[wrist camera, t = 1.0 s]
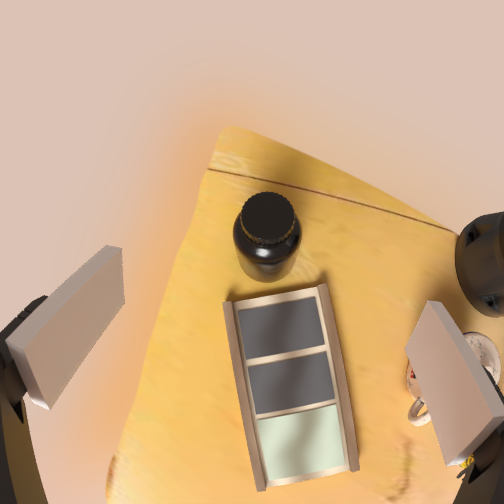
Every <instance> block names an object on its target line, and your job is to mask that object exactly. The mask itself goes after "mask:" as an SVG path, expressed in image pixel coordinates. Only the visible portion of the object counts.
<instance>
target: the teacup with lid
mask: <svg viewBox="0 0 504 504" xmlns="http://www.w3.org/2000/svg"><path fill="white" fill-rule="evenodd" d="M463 336H464V337H465V339H466V340H467V342H468V344H469V345H470V347H471V348H472V350H473V352H474V353H475V355H476V357H477V358H478V360H479V362H480V363H481V365H483V366H484V367H485V368H486V369H487V370H488V371H489V372H490V373H491V375H492V376H493V378H494V380H495V382H496V384H497V385H498V382H499V378H500V371H501V364H500V357H499V353H498V350H497V348H496V346H495V345H494V343H493V342H492V341H491V340H490V339H489V338H488V337H487V336H485V335H483V334H481V333H478V332H467V333H464V334H463ZM406 380H407V386H408V390H409V392H410V394H411V396H412V397H413V398H414V399H415V400H416V401H415V402H414V403H413V405H412V406H411V408H410V410H409V413H408V419H409V421H410V422H411V423H412V424H413V425H415V426H421V425H424V424H426V423H427V422H429V421H430V420H431V417H430V414H429V411H428V410H427V411H426V412H424V413H423V414H422V415H420V416H418V417H417V414H418V412H419V411H420V409H421V408H422V407H423V405H425V406H426V403H425V400H424V397H423V395H422V392H421V389H420V387H419V384H418V381H417V379H416V376H415V374H414V371H413V369H412V366H411V364H410V362H409V365H408V369H407V375H406Z"/></svg>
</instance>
